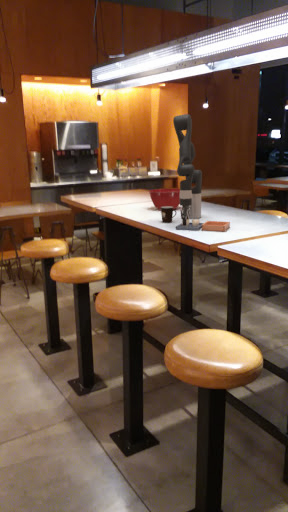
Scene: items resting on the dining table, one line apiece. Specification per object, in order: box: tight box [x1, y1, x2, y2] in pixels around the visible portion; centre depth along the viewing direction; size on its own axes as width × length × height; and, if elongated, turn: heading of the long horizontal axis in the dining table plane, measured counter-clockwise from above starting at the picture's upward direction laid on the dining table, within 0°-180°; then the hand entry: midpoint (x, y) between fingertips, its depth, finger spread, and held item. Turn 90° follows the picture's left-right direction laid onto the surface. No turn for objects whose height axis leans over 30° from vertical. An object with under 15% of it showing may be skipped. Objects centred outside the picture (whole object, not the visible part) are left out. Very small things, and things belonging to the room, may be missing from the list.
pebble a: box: [181, 218, 190, 227], centre depth 264 cm, size 4×4×4 cm
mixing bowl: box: [148, 188, 180, 211], centre depth 338 cm, size 28×28×16 cm
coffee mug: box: [160, 206, 177, 224], centre depth 282 cm, size 12×9×10 cm
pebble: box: [191, 218, 200, 227], centre depth 261 cm, size 4×4×4 cm
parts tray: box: [175, 221, 205, 232], centre depth 263 cm, size 16×14×2 cm
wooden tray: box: [201, 220, 231, 233], centre depth 257 cm, size 14×14×4 cm
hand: (185, 224), depth 264 cm, fingers closed on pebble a, 4 cm apart
